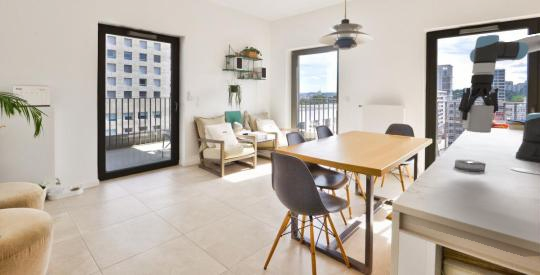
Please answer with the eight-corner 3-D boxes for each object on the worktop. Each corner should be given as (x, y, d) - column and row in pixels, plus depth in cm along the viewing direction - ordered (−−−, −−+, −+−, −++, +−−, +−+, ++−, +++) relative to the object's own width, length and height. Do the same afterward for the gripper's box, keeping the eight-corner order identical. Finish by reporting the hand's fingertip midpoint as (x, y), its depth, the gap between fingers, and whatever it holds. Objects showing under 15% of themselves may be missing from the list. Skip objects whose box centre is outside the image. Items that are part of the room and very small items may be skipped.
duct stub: (471, 165, 131) (472, 158, 130) (491, 172, 120) (492, 165, 119) (448, 165, 130) (449, 159, 130) (466, 172, 119) (467, 165, 119)
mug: (493, 131, 120) (497, 105, 118) (486, 133, 115) (489, 106, 113) (462, 128, 129) (465, 104, 128) (453, 129, 125) (456, 104, 123)
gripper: (499, 75, 123) (492, 126, 126) (452, 74, 121) (446, 126, 125) (515, 74, 115) (507, 129, 119) (464, 73, 114) (458, 129, 118)
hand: (475, 127), depth 122 cm, fingers closed on mug, 9 cm apart
